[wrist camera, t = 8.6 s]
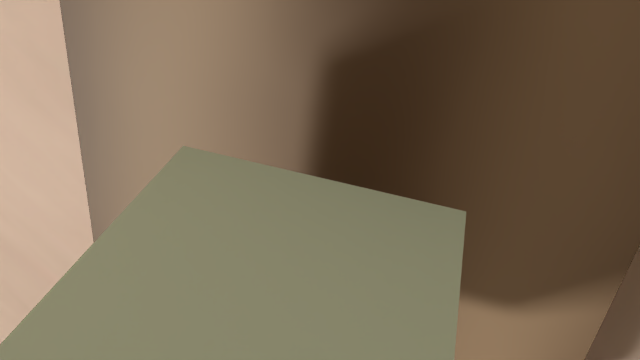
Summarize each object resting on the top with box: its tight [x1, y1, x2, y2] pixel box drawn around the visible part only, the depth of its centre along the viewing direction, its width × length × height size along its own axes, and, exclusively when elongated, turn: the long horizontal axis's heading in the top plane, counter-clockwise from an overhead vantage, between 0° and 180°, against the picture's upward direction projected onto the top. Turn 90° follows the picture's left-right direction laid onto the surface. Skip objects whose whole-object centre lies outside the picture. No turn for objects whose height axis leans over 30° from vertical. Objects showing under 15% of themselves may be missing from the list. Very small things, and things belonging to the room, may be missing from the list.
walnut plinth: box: [60, 0, 640, 360], centre depth 13 cm, size 11×11×3 cm
